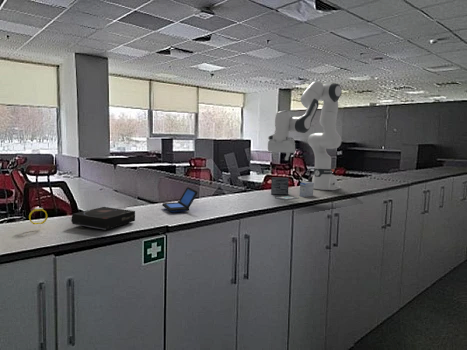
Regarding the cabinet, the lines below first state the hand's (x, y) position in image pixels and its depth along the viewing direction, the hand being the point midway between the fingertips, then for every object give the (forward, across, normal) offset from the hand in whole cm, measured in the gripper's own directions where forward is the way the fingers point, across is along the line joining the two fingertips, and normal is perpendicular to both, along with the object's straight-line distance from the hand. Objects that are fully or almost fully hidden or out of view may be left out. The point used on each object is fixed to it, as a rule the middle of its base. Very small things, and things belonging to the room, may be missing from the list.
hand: (280, 159), depth 222 cm
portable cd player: (+21, -13, +114) cm, 117 cm away
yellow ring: (+20, -5, +136) cm, 138 cm away
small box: (+22, 0, 0) cm, 22 cm away
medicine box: (+22, -14, -9) cm, 28 cm away
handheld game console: (+21, -5, +75) cm, 79 cm away
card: (+22, -13, +7) cm, 26 cm away
